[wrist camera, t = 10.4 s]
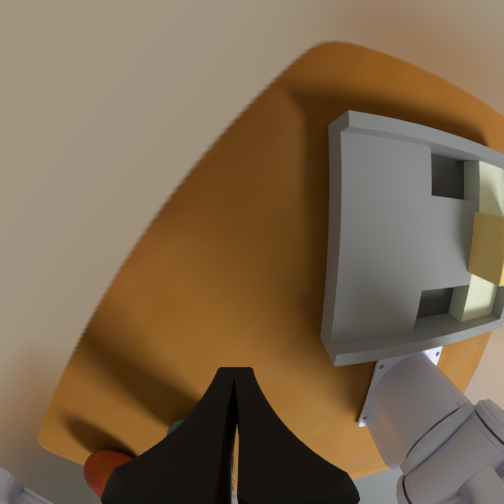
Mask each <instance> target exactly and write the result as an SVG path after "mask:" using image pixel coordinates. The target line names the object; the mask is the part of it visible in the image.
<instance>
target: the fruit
mask: <svg viewBox="0 0 504 504" xmlns="http://www.w3.org/2000/svg"><path fill="white" fill-rule="evenodd" d="M132 459H134V458H132V457H130V456H128V455H126V454H124V453H121V452H117V451H112V450H101V451H97V452H95V453H93V454H91V455H90V456H89V457H88V458H87V460H86V462H85V465H84V477H85V479H86V481H87V483H88V485H89V486H90V488H91V489H92V490H93V491H94V492H95V493H96V494H97V495H98V496H99V497H100V498H101V496H102V493H103V490H104V488H105V485H106V482H107V480H108V478H109V477H110V475H111V473H112V472H113V470H114V468H116V467H118V466H120V465H122V464H124V463H126V462H128V461H130V460H132Z"/></svg>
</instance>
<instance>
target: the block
mask: <svg viewBox="0 0 504 504" xmlns="http://www.w3.org/2000/svg"><path fill="white" fill-rule="evenodd" d="M468 272H469V273H471V274H473V275H475V276H478V277H480V278H482V279H484V280H486V281H488V282H491V283H493V284H495V285H497V286H504V216H500V215H494V214H487V213H479V212H474V224H473V235H472V245H471V253H470V260H469V266H468Z"/></svg>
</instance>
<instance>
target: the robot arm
mask: <svg viewBox="0 0 504 504" xmlns="http://www.w3.org/2000/svg"><path fill="white" fill-rule="evenodd" d="M441 350H442V346H441V347H437V348H433V349H429V350H425V351H421V352H416V353H412V354H408V355H403V356H398V357H393V358H388V359H383V360H377V362H376V366H375V369H374V373H373V377H372V380H371V384H370V387H369V390H368V393H367V397H366V400H365V403H364V406H363V409H362V412H361V415H360V418H359V420H358V426H359V427H362V426H367V427H368V429H369V431H370V433H371V436H372V438H373V440H374V442H375V444H376V446H377V448H378V450H379V452H380V454H381V457H382V459H383V461H384V462H385V463H386V465H387V466H389V467H390V468H391V469H393V470H395V471H398V472H402V473H403V475H402V476H401V477H400V478H399V479H398V482H397V491H396V492H397V500H398V503H399V504H504V411H503V410H502V409H501V408H500V407H499V406H498V405H497V404H495V403H494V402H493V401H491V400H489V399H487V400H480V401H479V402H478V403H477V404H476V406H475V405H473V404H472V403H471V402H470V401H469V400H468V399H467V397H466V396H465V395H464V394H463V393H462V392H461V391H460V390H459V389H458V388H457V387H456V386H455V385H454V384H453V383H452V382H451V380H450V379H449V378H448V377H447V376H446V375H445V374H444V373H443V372H442V371H441V370H440V369H439V368H438V367H437V366H436V365H437V362H438V359H439V356H440V353H441ZM381 365H382V366H381ZM237 426H238V434H239V455H238V484H237V499H238V504H358V503H359V501H360V497H359V493H358V490H357V489H356V486H355V485H354V483H353V481H352V480H351V478H350V476H349V475H348V474H347V472H345V471H343V470H341V469H339V468H338V467H336V466H334V465H333V464H331V463H329V462H328V461H326V460H325V459H323V458H322V457H320V456H319V455H318V454H316V453H315V452H313V451H312V450H311V449H310V448H309V447H307V446H306V445H305V444H304V443H303V442H302V441H300V440H299V439H298V438H297V437H296V436H295V435H294V434H293V433H292V432H291V431H290V430H289V429H288V428H287V426H286V425H285V424H284V423H283V422H282V421H281V419H280V418H279V417H278V416H277V414H276V413H275V412H274V410H273V409H272V407H271V406H270V404H269V403H268V401H267V399H266V398H265V396H264V394H263V393H262V391H261V389H260V387H259V385H258V383H257V380H256V378H255V375H254V371H253V369H252V368H251V367H220V368H219V369H218V370H217V373H216V375H215V377H214V379H213V381H212V382H211V384H210V386H209V388H208V389H207V391H206V392H205V394H204V395H203V397H202V398H201V400H200V401H199V402H198V404H197V405H196V406H195V408H194V409H193V410H192V411H191V413H190V414H189V415H188V416H187V417H186V418H185V419H184V420H183V422H182V423H181V424H180V425H179V426H178V427H177V428H176V429H174V430H173V431H172V432H171V433H170V434H169V435H168V436H166V437H165V438H164V439H163V440H162V441H160V442H159V443H158V444H156V445H155V446H153V447H152V448H150V449H149V450H147V451H146V452H144V453H143V454H141V455H139V456H138V457H136V458H134V459H132V460H130V461H128V462H126V463H124V464H122V465H120V466H118V467H116V468H114V470H113V472H112V473H111V475H110V477H109V478H108V480H107V482H106V485H105V488H104V490H103V493H102V496H101V502H102V503H103V504H232V502H231V471H232V460H233V452H234V444H235V435H236V427H237ZM0 504H53V503H52V502H49V501H48V500H46V499H44V498H42V497H41V496H38V495H37V494H35V493H33V492H32V491H30V490H29V489H27V488H25V487H24V486H23V485H22V483H21V482H20V481H19V480H18V479H16V478H15V477H14V476H13V475H12V474H10V473H9V472H8V471H6V470H5V469H3V468H2V467H1V466H0Z"/></svg>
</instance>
